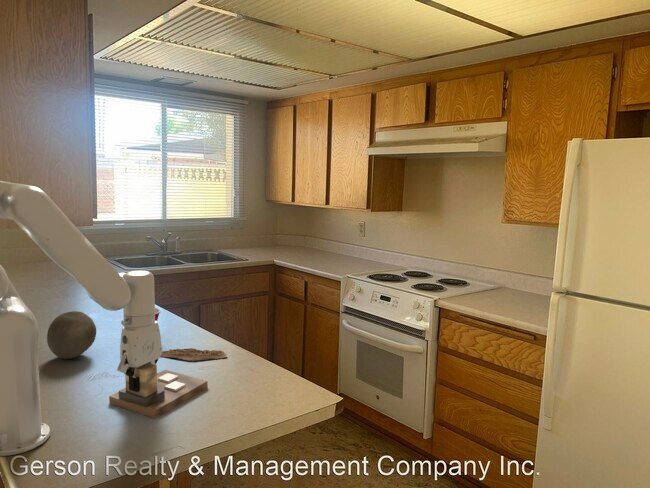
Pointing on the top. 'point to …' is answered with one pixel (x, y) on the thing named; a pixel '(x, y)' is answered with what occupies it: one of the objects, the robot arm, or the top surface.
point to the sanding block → (144, 387)
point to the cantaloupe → (71, 334)
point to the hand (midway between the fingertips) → (141, 386)
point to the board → (170, 398)
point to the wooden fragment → (193, 354)
